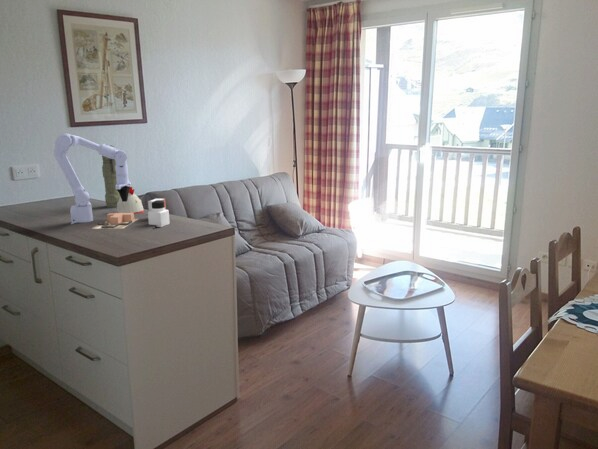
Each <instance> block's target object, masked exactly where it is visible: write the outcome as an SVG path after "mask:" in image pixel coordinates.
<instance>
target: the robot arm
mask: <svg viewBox="0 0 598 449" xmlns="http://www.w3.org/2000/svg"><path fill="white" fill-rule="evenodd" d="M72 145H73V146H83V147H85V148H88V149H90V150H95V151H97V152H98V155H100V156H101V157H102V156H105V157H107V158H110V159H115V162H116V166H115V168H116V178H117V184H116V189H117V191H118V192H119V194H120V196H121V199H122V202H126V201H127V200H128V194H129V190H130V187H131V185H132V183H131V181H130V179H129V169H128V168H129V166H128V161H127V159H128V156H127V153H126V152H125V151H124V150H122V149H119V148H118V147H115V146H114V147H111V146H112V145H111V146H110V145H109V143H106V142H105V143H101V144H99V143H96V142H94V141H91V140H89V139H86V138H84V137H81V136H78V135H75V134H70V133H68V132H65V133H61V134H59V135H58V137H57V138H56V140H55V144H54V151H53V152H54V153H53V156H54V158H55V160H56V161H57V164H58V165H59V167H60V169H61V170H62V173H63V174H64V177H65V179H66V180H67V182H68V184H69V186H70V187H71V190H72V193H73V195H74V203H75V205H71V206H70V210H69V213H70V221H71V223H70V225H74V224H76V223H89V222H93V221H94V216H93V207H92V203H91V202H90V198H91V194H90V193H89V191H87V190H86V189H85V187H84V186H83V185H82V183H81V181H80V178H79V177H78V175H77V173H76V171H75V169H74V168H73V165H72V164H71V161H70V160H69V158H68V156H67V153H68V151H69V148H70V147H72ZM114 149H115V150H114ZM111 157H112V158H111ZM127 186H130V187H127Z"/></svg>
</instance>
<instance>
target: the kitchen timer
mask: <svg viewBox="0 0 598 449" xmlns="http://www.w3.org/2000/svg"><path fill="white" fill-rule="evenodd" d="M127 187H130V190H129V194H128V200H127V201H126V202H122V199H121V197H120V199H119V201H118V203H117V207H116V213H134V215H135V214H140V213H141V214H143V213H144V206H143V201H142V199H141V198H140V197H139V196H138V195H136V193H135V188H133V186H131V185H128V186H127Z"/></svg>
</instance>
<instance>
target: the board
mask: <svg viewBox="0 0 598 449" xmlns="http://www.w3.org/2000/svg"><path fill="white" fill-rule="evenodd" d="M138 220H139V218H134V220H133V221H130V222H122V223H118V224H110V222H107V219H106V220H102V221H100V222H99V223H97V225H95V226H94V227H92V228H91V230H97V229H98V230H100V229H101V230H103V229H104V230H105V229H108V230H112V229H114V230H117V229H119V230H121V229H125V228H126V227H128V226H130V225H132V224H133V223H134V222H136V221H138Z"/></svg>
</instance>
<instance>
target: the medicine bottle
mask: <svg viewBox="0 0 598 449" xmlns="http://www.w3.org/2000/svg"><path fill="white" fill-rule="evenodd" d="M151 208H152V211H149V210H148V211H147V219H148V225H149V226H150V225H152V226H153V225H154V227H156V228H163V227H165V226H168V225H170V223H171V222H170V221H171V220H170V212H169V209H166V210H164V209H165V206H164V201H162V200H155V201H152V202H151Z"/></svg>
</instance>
